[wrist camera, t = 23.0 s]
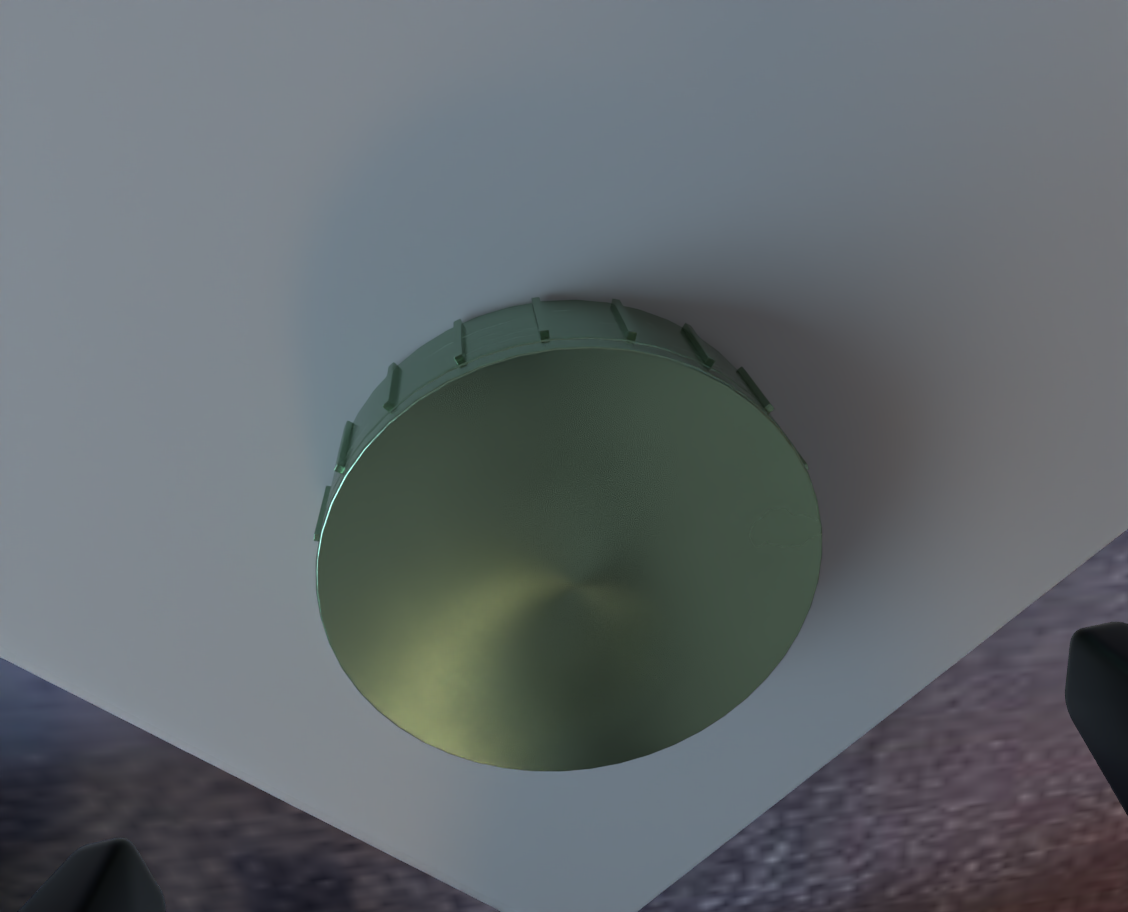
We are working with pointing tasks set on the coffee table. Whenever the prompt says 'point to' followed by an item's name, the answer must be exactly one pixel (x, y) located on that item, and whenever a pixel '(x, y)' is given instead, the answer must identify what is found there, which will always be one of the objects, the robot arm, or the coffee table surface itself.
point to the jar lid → (564, 538)
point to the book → (515, 275)
